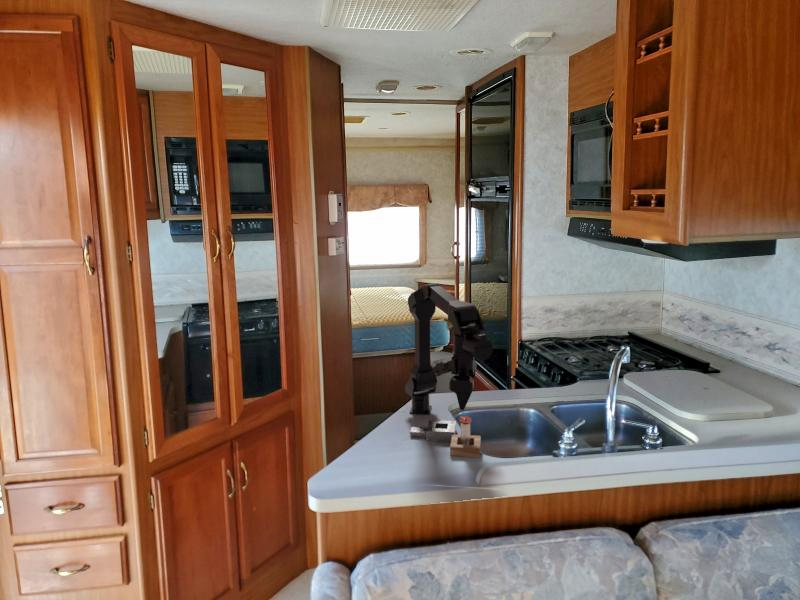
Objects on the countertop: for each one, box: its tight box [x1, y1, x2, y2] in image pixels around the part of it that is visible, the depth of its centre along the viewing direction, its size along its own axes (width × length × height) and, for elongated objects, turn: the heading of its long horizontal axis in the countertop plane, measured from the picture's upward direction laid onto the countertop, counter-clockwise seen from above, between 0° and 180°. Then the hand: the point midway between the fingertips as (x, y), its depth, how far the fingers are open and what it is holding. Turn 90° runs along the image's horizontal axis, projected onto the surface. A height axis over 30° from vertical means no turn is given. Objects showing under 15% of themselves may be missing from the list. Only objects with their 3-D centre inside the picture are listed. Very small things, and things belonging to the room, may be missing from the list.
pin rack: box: [449, 434, 482, 458], centre depth 168 cm, size 8×8×2 cm
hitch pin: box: [459, 416, 472, 445], centre depth 167 cm, size 3×3×9 cm
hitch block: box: [409, 419, 457, 443], centre depth 177 cm, size 8×13×3 cm, turn 81°
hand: (463, 403), depth 170 cm, fingers open, 9 cm apart
